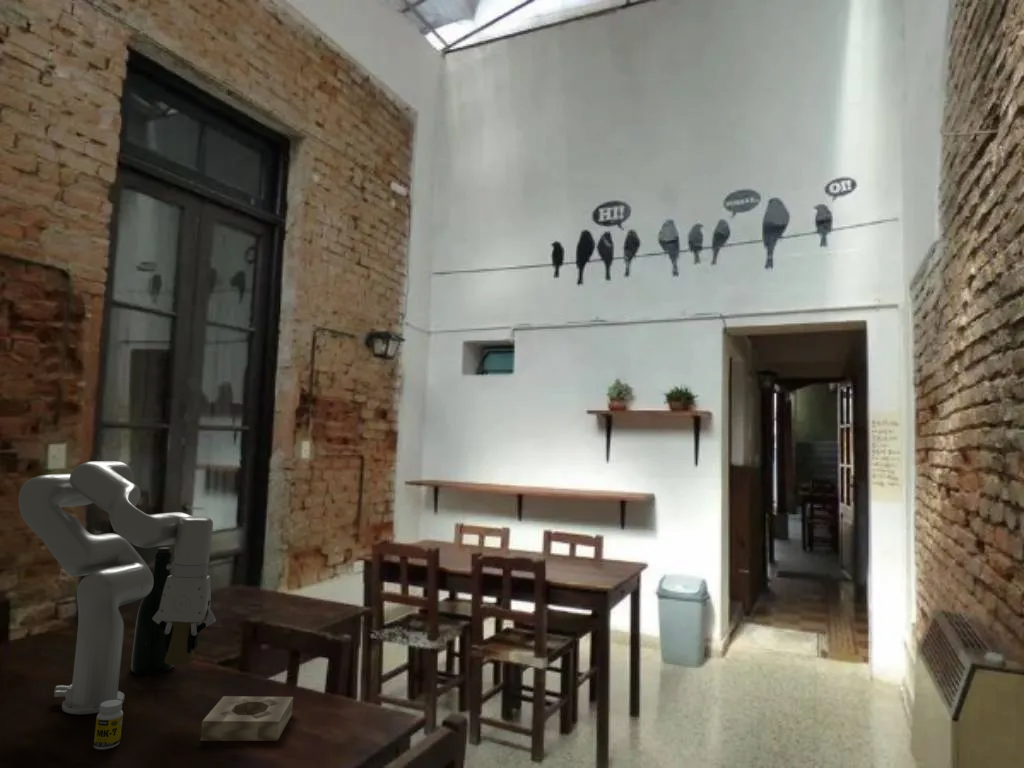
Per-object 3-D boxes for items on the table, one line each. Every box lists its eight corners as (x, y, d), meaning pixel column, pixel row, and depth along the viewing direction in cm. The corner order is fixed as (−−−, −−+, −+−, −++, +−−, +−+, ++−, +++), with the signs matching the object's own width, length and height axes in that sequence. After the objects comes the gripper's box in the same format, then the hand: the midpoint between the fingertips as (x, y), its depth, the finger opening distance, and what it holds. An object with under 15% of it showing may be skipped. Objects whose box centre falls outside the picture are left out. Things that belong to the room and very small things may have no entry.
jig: (200, 740, 140) (202, 721, 141) (222, 713, 154) (223, 696, 155) (277, 740, 142) (278, 721, 142) (291, 714, 156) (293, 696, 156)
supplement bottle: (91, 751, 133) (95, 708, 134) (95, 741, 138) (99, 700, 139) (118, 748, 135) (122, 705, 136) (121, 738, 140) (125, 697, 140)
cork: (199, 659, 154) (204, 611, 155) (178, 666, 148) (184, 617, 149) (179, 654, 156) (185, 607, 157) (158, 661, 150) (164, 612, 151)
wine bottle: (162, 660, 188) (173, 543, 192) (180, 669, 182) (192, 548, 185) (123, 669, 180) (135, 546, 183) (141, 678, 174) (154, 551, 177)
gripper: (145, 571, 149) (135, 654, 147) (221, 575, 151) (212, 658, 149) (159, 565, 156) (149, 644, 155) (232, 569, 158) (223, 647, 157)
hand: (180, 650), depth 152 cm, fingers closed on cork, 3 cm apart
